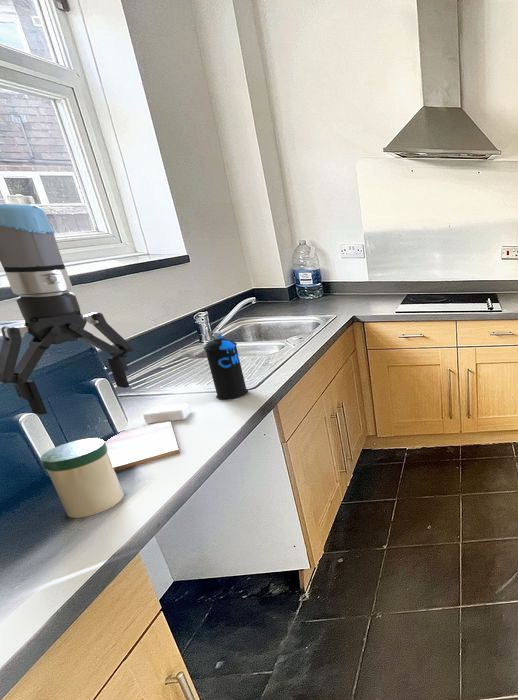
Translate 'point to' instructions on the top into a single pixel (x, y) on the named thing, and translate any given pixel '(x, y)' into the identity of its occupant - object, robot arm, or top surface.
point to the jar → (88, 487)
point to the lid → (73, 454)
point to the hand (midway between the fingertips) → (84, 398)
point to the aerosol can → (225, 367)
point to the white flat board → (142, 445)
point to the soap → (167, 413)
